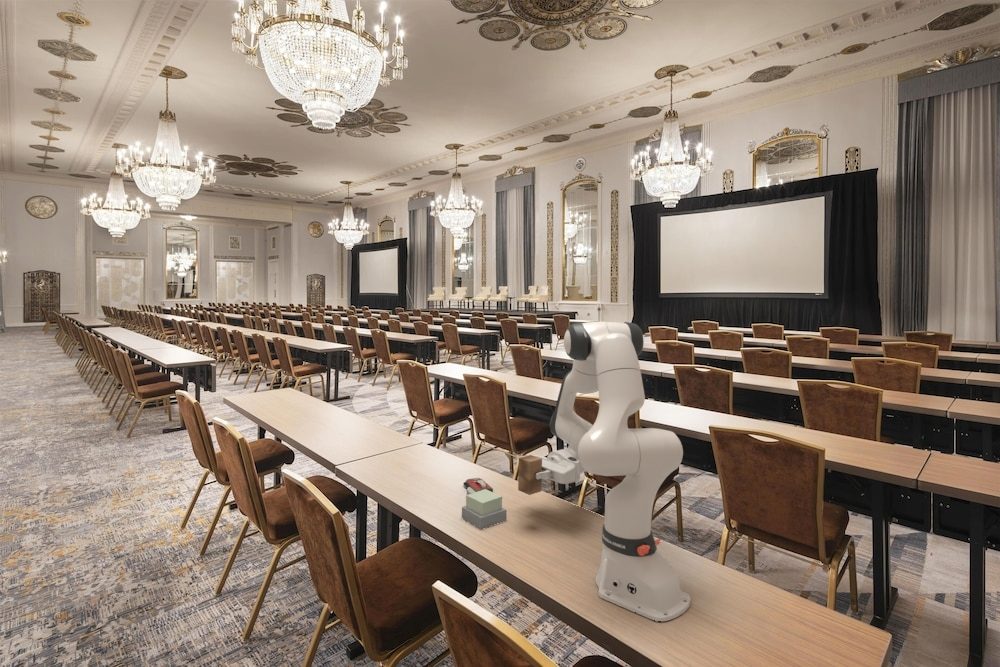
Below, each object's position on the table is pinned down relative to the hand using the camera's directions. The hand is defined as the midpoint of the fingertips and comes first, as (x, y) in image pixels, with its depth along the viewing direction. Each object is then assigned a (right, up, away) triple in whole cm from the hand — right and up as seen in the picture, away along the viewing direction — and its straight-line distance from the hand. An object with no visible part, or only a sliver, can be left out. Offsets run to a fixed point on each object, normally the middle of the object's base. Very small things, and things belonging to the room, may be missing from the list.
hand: (527, 473), depth 157 cm
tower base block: (-14, -17, +6) cm, 22 cm away
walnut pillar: (+1, -6, +1) cm, 6 cm away
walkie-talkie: (-16, -15, +26) cm, 34 cm away
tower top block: (-14, -13, +6) cm, 19 cm away
